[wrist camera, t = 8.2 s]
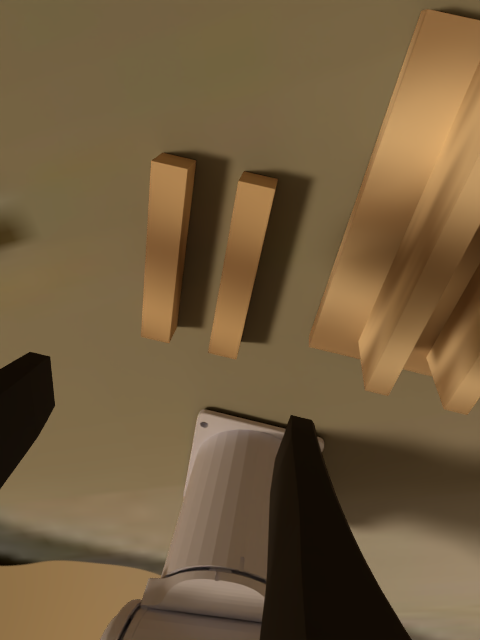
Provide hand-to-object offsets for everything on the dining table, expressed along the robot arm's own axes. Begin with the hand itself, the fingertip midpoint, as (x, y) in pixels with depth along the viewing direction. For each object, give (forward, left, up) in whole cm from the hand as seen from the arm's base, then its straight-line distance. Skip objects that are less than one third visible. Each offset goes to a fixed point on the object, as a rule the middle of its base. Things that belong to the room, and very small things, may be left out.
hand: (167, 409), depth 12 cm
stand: (0, +1, -10) cm, 10 cm away
